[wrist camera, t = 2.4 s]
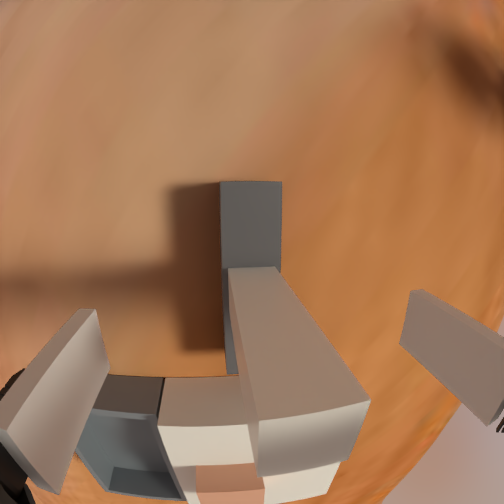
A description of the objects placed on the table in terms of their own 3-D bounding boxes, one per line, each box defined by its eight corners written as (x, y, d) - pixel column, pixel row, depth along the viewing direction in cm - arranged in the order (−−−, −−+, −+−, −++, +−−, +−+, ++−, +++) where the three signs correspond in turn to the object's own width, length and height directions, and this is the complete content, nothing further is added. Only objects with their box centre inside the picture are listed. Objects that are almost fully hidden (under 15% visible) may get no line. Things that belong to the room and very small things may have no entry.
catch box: (63, 369, 17) (44, 399, 14) (163, 377, 19) (155, 414, 15) (111, 464, 21) (105, 491, 17) (189, 471, 22) (189, 501, 18)
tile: (195, 465, 15) (196, 492, 13) (259, 462, 16) (265, 488, 13) (203, 490, 16) (204, 513, 14) (258, 487, 17) (263, 510, 14)
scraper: (219, 182, 16) (238, 176, 4) (270, 181, 16) (421, 186, 4) (224, 348, 19) (247, 525, 6) (267, 345, 19) (328, 511, 7)
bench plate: (165, 377, 19) (157, 425, 14) (335, 364, 20) (361, 404, 15) (191, 471, 22) (191, 508, 17) (312, 459, 24) (325, 493, 19)
